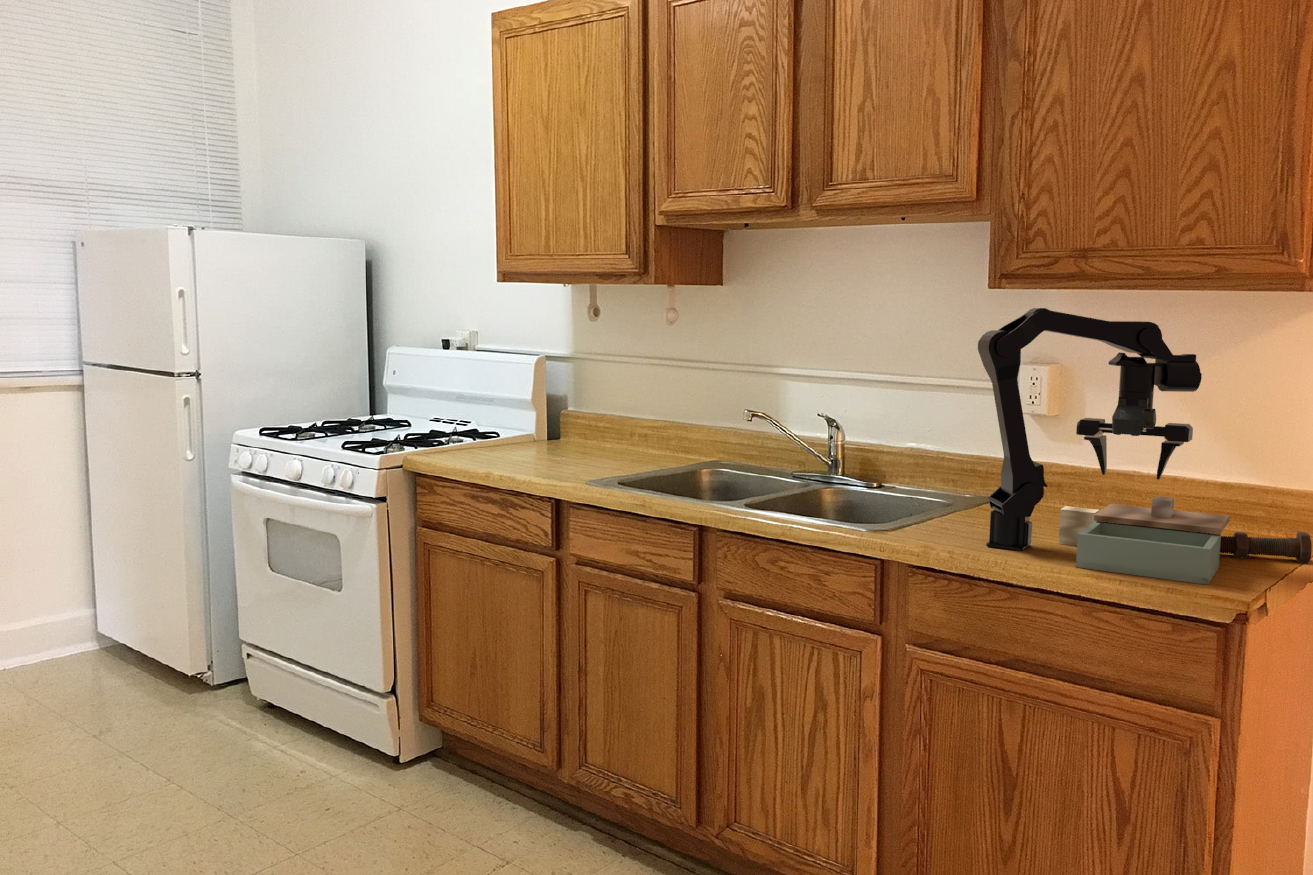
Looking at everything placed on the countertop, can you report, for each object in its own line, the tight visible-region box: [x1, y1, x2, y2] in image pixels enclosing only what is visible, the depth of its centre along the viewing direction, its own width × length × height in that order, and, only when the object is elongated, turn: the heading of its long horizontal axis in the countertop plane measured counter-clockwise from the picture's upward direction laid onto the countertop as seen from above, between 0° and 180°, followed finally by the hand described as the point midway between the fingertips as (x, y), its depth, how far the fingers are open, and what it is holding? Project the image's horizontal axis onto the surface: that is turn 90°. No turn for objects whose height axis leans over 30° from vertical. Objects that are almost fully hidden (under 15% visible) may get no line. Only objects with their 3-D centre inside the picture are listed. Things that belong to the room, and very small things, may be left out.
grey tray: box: [1075, 521, 1222, 585], centre depth 185 cm, size 20×20×6 cm
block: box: [1058, 506, 1100, 547], centre depth 201 cm, size 6×4×6 cm, turn 56°
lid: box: [1094, 495, 1231, 535], centre depth 192 cm, size 20×14×4 cm
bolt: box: [1220, 531, 1313, 565], centre depth 191 cm, size 6×5×15 cm
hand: (1130, 476), depth 197 cm, fingers open, 9 cm apart
